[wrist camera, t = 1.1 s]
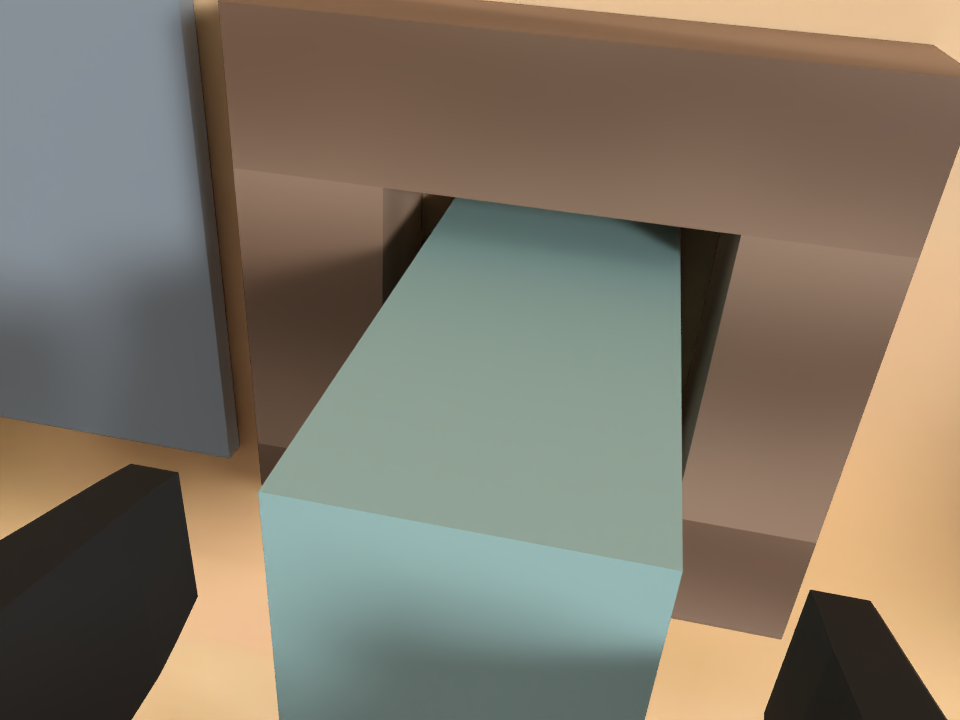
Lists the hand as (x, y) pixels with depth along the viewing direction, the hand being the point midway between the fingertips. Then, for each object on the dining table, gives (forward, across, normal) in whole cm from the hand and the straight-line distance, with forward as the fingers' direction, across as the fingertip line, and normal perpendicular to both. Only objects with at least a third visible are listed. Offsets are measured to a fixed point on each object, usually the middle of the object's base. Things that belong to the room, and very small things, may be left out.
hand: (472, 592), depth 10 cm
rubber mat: (+8, +12, 0) cm, 14 cm away
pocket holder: (+8, 0, 0) cm, 8 cm away
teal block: (+8, 0, 0) cm, 8 cm away
